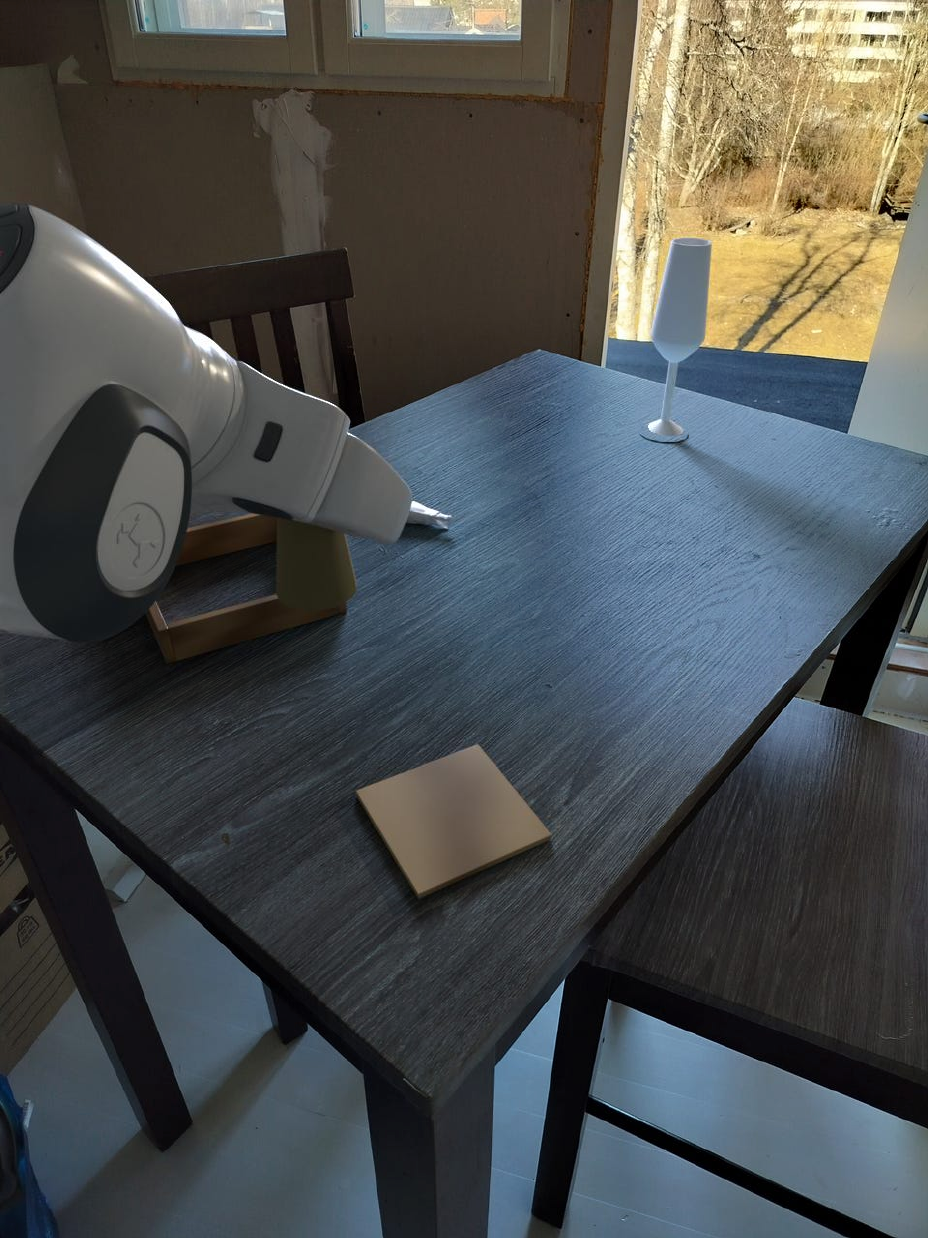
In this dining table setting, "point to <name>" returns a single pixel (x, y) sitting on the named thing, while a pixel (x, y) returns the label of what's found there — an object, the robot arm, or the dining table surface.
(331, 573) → the olive game pawn
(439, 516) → the white animal figurine
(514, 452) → the dining table surface
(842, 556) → the dining table surface
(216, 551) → the open box
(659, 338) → the champagne flute
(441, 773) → the coaster
